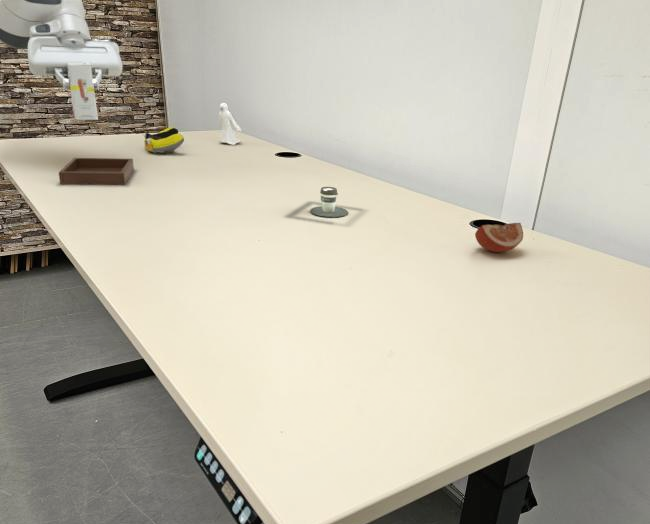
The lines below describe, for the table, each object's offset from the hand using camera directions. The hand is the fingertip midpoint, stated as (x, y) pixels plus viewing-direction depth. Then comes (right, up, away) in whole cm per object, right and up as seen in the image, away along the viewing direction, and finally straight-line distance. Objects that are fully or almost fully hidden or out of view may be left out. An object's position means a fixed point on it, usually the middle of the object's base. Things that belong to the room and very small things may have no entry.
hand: (81, 88), depth 135 cm
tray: (+3, -20, +2) cm, 20 cm away
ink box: (-1, -6, +4) cm, 7 cm away
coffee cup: (+56, -32, -15) cm, 66 cm away
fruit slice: (+86, -42, -32) cm, 101 cm away
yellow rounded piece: (+10, -5, +33) cm, 35 cm away
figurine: (+26, +2, +48) cm, 55 cm away
